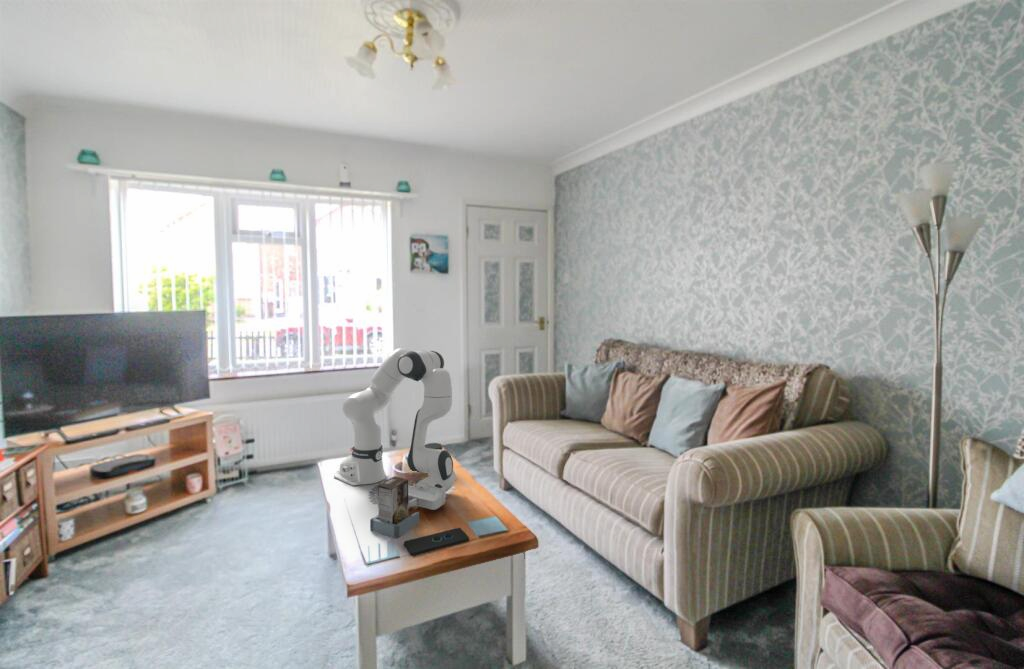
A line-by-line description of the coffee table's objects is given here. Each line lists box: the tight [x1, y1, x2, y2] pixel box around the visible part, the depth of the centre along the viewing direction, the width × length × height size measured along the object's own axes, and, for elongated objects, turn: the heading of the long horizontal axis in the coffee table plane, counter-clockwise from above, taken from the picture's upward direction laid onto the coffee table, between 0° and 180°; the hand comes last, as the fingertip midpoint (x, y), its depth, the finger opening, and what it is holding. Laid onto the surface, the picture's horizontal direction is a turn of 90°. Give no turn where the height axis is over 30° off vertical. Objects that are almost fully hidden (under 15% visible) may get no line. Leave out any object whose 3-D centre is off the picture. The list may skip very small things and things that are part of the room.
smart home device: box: [403, 527, 470, 557], centre depth 160 cm, size 8×2×20 cm
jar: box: [425, 442, 443, 450], centre depth 220 cm, size 9×8×12 cm
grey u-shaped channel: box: [369, 511, 420, 540], centre depth 169 cm, size 11×12×4 cm
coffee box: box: [377, 476, 409, 525], centre depth 169 cm, size 9×6×16 cm
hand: (403, 505), depth 173 cm, fingers closed, pressing on coffee box
